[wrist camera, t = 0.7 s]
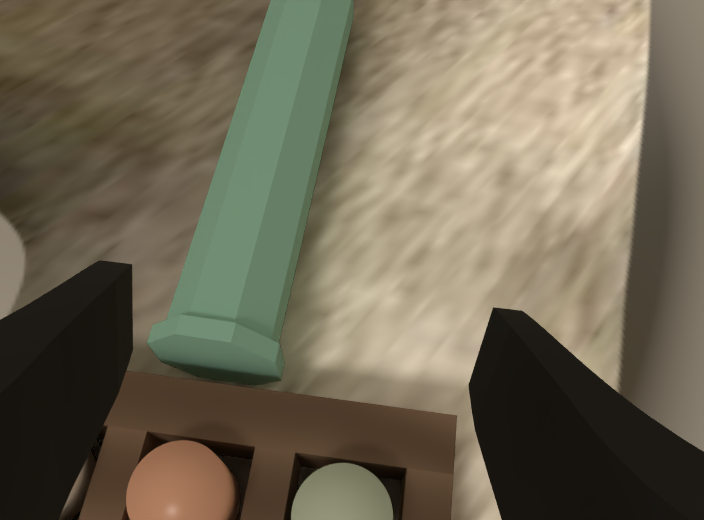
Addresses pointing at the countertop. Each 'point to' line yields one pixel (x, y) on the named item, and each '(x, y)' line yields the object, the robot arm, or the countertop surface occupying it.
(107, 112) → the countertop surface
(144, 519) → the terracotta button
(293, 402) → the button panel
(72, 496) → the cream button
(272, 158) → the container
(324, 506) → the sage button
